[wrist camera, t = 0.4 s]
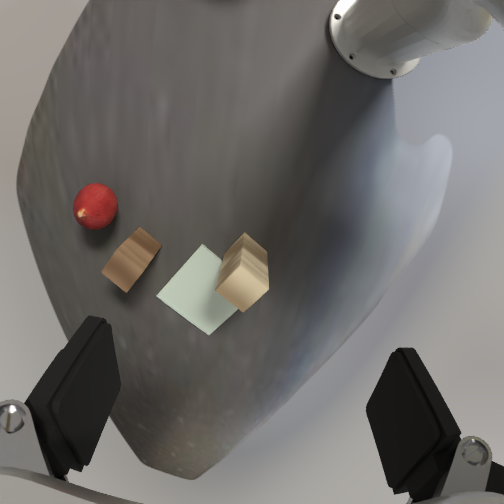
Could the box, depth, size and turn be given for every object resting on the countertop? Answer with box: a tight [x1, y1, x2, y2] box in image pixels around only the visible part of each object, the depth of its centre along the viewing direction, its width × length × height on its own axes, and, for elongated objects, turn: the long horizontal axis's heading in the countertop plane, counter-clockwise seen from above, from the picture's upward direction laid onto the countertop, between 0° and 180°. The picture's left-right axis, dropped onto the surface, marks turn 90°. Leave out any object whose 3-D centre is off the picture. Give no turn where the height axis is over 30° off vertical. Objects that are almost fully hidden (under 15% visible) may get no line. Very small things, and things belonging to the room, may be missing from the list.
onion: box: [73, 183, 118, 230], centre depth 36 cm, size 6×6×8 cm
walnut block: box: [102, 227, 162, 293], centre depth 39 cm, size 4×4×8 cm
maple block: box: [215, 232, 269, 313], centre depth 38 cm, size 4×4×10 cm
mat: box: [157, 244, 238, 335], centre depth 45 cm, size 11×10×1 cm
